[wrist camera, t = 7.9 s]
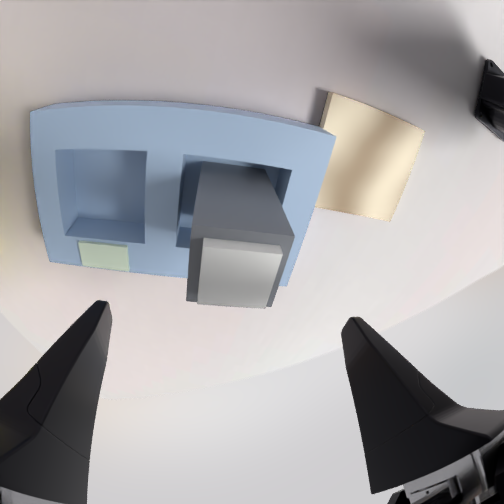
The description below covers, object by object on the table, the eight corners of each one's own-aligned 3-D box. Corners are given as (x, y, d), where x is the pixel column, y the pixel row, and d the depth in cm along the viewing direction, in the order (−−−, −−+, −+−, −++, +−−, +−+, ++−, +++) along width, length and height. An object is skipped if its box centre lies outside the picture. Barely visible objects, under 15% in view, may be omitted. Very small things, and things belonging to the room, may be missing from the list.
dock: (319, 126, 16) (338, 137, 14) (278, 263, 23) (286, 290, 20) (54, 103, 13) (28, 112, 10) (65, 241, 19) (49, 266, 16)
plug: (264, 169, 17) (298, 245, 10) (252, 222, 20) (273, 316, 13) (202, 161, 16) (190, 233, 10) (195, 216, 19) (185, 310, 12)
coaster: (418, 128, 17) (425, 131, 16) (385, 216, 21) (390, 221, 20) (328, 91, 15) (333, 92, 14) (298, 200, 19) (300, 204, 19)
